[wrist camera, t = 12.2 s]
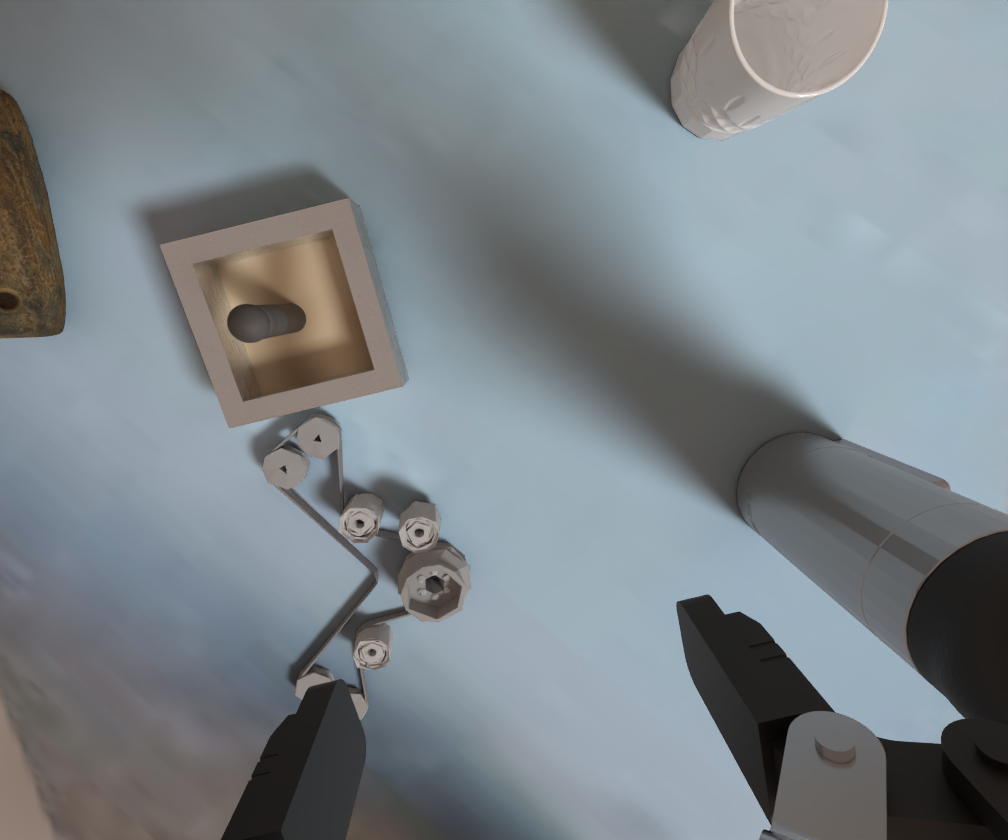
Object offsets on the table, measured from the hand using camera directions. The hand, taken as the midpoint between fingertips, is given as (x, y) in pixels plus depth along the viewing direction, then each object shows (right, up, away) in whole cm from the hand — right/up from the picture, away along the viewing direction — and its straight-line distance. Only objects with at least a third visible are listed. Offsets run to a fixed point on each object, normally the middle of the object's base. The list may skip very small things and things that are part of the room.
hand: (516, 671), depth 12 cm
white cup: (+14, +28, +23) cm, 39 cm away
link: (-14, +13, +24) cm, 31 cm away
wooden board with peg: (-15, +13, +25) cm, 32 cm away
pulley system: (-11, -7, +31) cm, 33 cm away
